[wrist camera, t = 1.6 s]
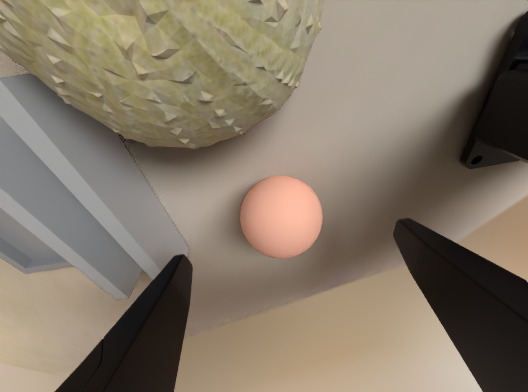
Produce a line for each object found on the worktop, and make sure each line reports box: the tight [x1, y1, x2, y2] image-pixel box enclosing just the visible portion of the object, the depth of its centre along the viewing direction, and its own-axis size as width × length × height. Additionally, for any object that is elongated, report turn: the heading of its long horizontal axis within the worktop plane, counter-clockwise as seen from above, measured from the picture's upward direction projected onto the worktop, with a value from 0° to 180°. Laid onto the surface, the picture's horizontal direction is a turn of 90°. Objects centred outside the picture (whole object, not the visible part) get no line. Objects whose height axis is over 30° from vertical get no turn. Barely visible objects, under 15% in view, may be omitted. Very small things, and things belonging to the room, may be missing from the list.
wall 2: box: [0, 73, 190, 280], centre depth 10 cm, size 1×11×3 cm, turn 10°
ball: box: [240, 176, 323, 258], centre depth 10 cm, size 4×4×4 cm
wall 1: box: [0, 116, 143, 300], centre depth 10 cm, size 1×11×3 cm, turn 11°
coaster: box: [0, 208, 73, 274], centre depth 12 cm, size 6×6×1 cm
